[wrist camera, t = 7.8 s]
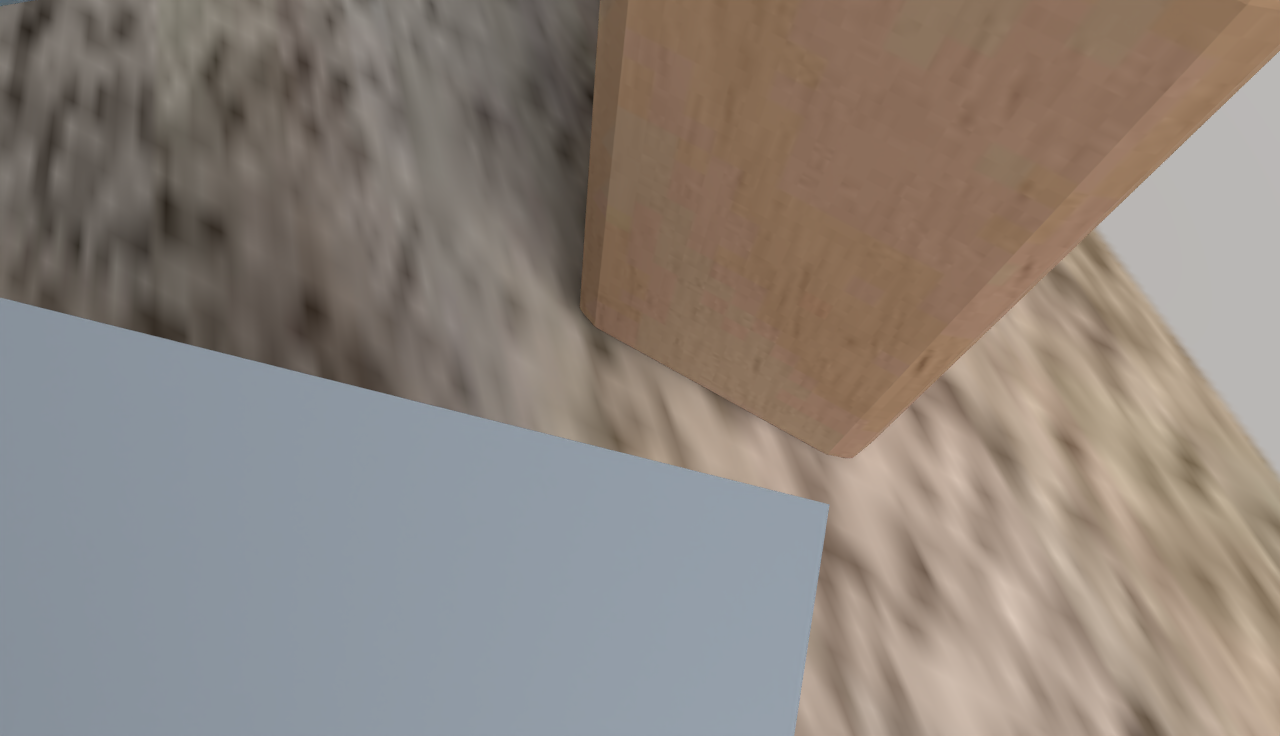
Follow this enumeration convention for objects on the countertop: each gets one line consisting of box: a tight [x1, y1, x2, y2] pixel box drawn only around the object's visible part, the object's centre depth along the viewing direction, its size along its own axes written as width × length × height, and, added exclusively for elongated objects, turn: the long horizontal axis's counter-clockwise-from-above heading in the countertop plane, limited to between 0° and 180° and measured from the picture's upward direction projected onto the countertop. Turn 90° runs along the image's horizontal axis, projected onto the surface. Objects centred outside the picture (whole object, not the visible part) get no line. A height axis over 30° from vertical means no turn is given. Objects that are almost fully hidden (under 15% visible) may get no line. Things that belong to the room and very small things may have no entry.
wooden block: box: [580, 0, 1280, 458], centre depth 22 cm, size 10×10×20 cm
